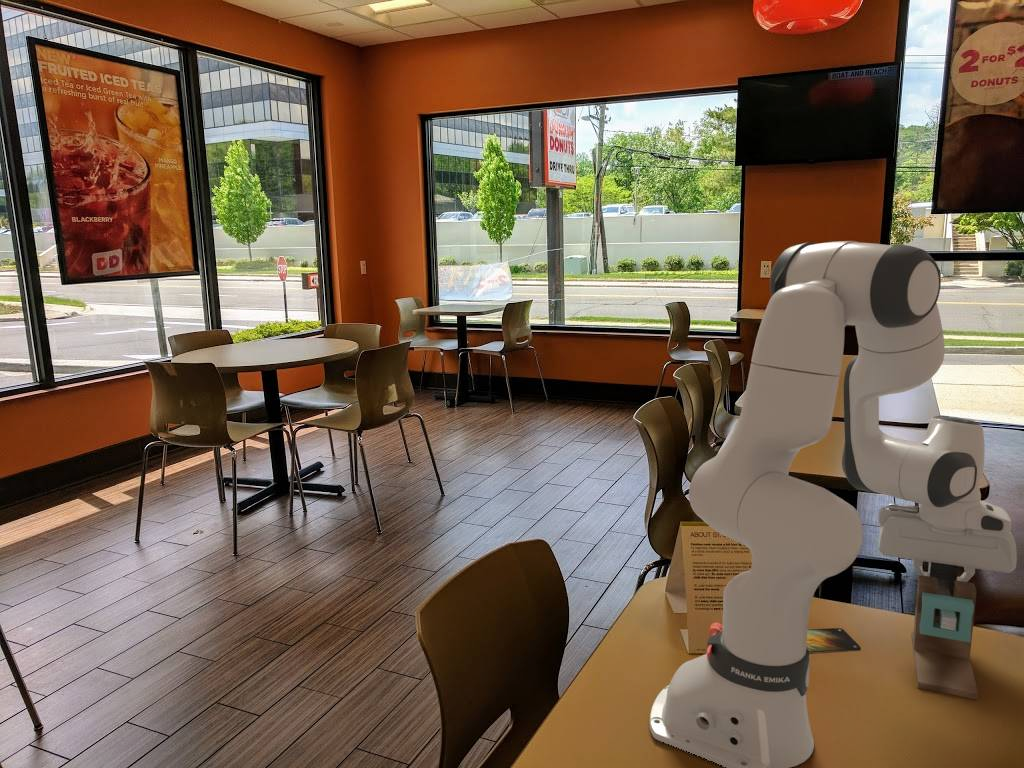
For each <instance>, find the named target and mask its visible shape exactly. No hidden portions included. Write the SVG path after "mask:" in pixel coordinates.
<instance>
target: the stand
mask: <svg viewBox="0 0 1024 768" xmlns="http://www.w3.org/2000/svg"><path fill="white" fill-rule="evenodd" d="M916 587H917V588H916V599H915V610H914V611H915V612H914V623H913V631H911V635H910V636H911V645H912V646H911V647H912V653H913V661H914V670H915V677H916V684H917V687H916V688H919V689H923V690H928V691H933V692H938V693H944V694H948V695H953V696H957V697H963V698H968V699H973V700H977V701H978V699H979V691H978V686H977V684H976V678H975V675H974V671H973V666H972V663H971V650H972V641H973V639H972V638H973V632H974V631H973V630H974V621H975V620H974V619H975V611H976V610H975V609H976V600H977V599H976V598H977V588H976V585H975V582H969V581H967V582H962V581H956V580H955V584H954V595H953V597H957V598H964V599H970V600H972V601H973V604H974V609H973V614H972V622H971V639H970V642H965V641H959V640H953V639H947V638H942V637H936V636H930V635H925V634H920V629H919V626H920V620H921V611H922V592H925V593H931V594H938V581H937V578H935V577H928V576H921V575H919V574H918V577H917V586H916ZM955 615H956V619H957V620H956V626H957V623H958V612H956V611H955ZM933 622H938V623H940V622H939V617H938V612H937V608H935V609H934V620H933Z"/></svg>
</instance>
